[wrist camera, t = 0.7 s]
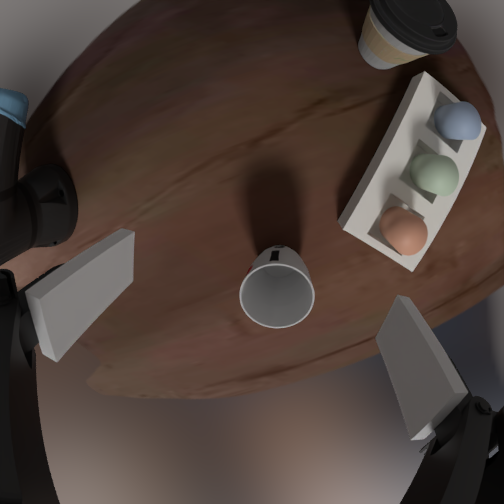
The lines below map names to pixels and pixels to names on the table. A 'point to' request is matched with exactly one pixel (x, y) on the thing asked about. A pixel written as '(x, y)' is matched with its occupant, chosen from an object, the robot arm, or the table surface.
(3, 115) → the robot arm
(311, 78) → the table surface
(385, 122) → the table surface
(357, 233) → the button board
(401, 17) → the coffee cup
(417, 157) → the sage cap
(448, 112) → the slate cap
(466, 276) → the table surface
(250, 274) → the cup
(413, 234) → the terracotta cap
